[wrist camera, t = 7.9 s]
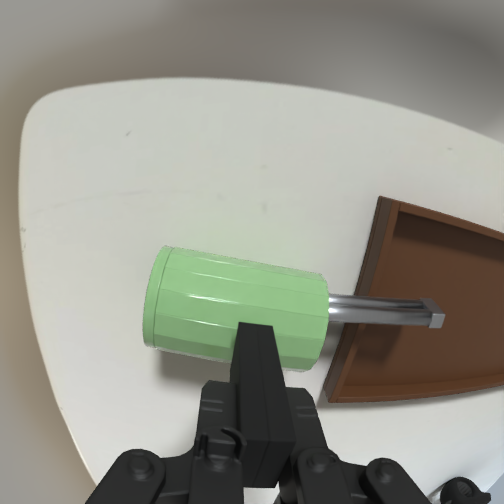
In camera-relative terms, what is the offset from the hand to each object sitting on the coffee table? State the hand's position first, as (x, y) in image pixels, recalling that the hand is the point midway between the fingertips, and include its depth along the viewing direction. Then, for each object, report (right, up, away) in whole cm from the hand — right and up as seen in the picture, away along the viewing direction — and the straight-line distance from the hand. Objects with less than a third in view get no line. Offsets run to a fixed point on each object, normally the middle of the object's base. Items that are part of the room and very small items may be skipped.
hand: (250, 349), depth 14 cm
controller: (+34, -34, +19) cm, 52 cm away
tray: (+27, -2, +9) cm, 29 cm away
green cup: (-5, +2, +3) cm, 7 cm away
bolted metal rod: (+4, +1, +4) cm, 6 cm away
